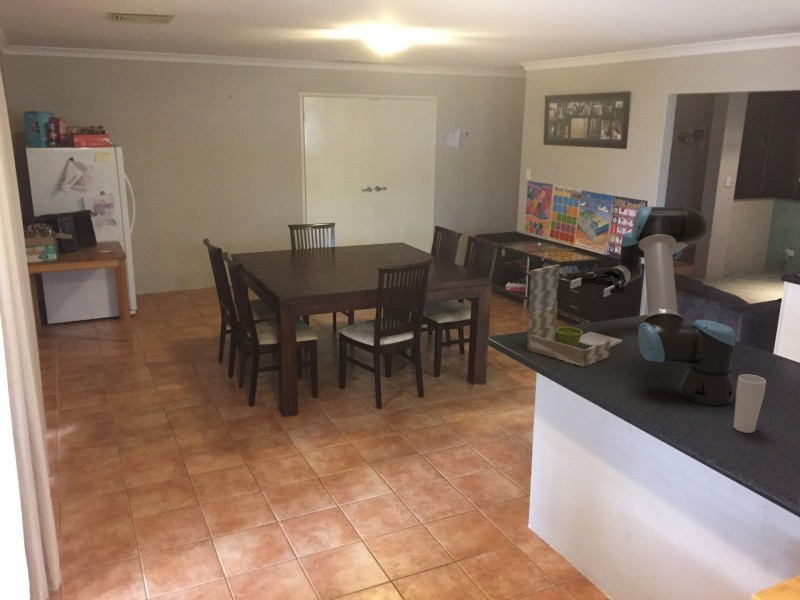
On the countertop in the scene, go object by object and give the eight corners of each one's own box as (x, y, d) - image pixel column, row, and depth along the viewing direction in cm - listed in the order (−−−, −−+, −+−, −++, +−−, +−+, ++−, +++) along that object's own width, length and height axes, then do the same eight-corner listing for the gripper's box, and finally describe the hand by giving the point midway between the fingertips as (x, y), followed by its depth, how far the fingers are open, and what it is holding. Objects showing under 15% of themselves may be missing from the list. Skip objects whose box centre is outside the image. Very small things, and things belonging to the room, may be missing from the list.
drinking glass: (749, 423, 184) (757, 373, 180) (763, 435, 177) (771, 383, 174) (725, 424, 184) (733, 373, 180) (738, 435, 177) (746, 383, 173)
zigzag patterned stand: (551, 340, 254) (557, 264, 246) (608, 356, 237) (616, 275, 229) (525, 349, 243) (530, 270, 235) (584, 367, 226) (591, 282, 218)
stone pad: (590, 333, 263) (590, 331, 262) (622, 342, 253) (622, 340, 252) (570, 340, 253) (570, 339, 253) (603, 350, 243) (603, 348, 243)
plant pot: (578, 349, 244) (580, 327, 242) (582, 358, 235) (585, 335, 232) (553, 348, 245) (554, 326, 242) (556, 357, 236) (558, 334, 233)
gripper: (645, 293, 246) (618, 306, 232) (586, 279, 263) (557, 291, 249) (648, 274, 244) (620, 286, 230) (588, 261, 261) (558, 272, 247)
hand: (587, 288), depth 239 cm, fingers open, 13 cm apart
